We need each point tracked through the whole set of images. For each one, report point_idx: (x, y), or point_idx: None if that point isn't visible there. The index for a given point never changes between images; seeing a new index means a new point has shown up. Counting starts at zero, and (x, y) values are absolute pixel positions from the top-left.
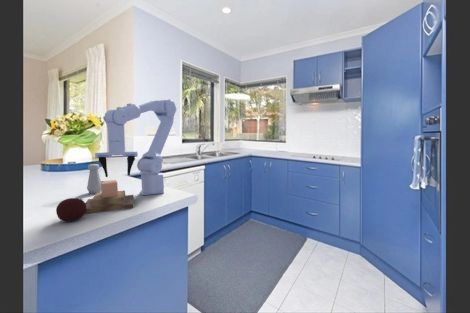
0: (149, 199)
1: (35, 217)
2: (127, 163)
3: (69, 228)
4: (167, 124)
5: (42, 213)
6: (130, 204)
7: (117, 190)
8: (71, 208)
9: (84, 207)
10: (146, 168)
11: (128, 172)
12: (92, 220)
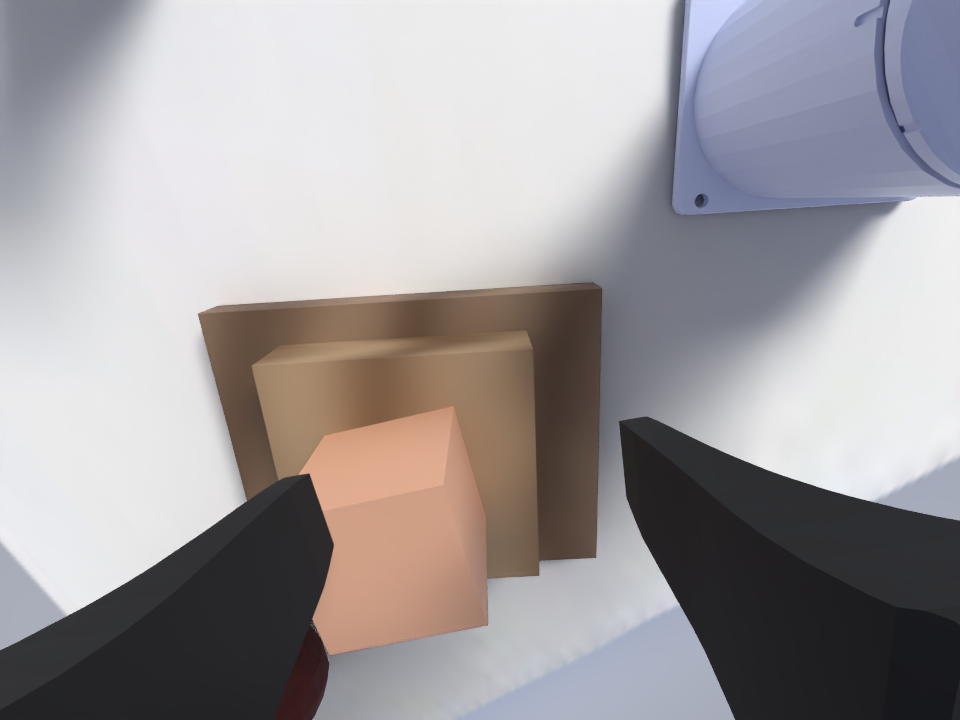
0: (726, 366)
1: (22, 527)
2: (735, 516)
3: None
4: None
5: (9, 466)
6: (578, 558)
7: (484, 553)
8: None
9: (316, 707)
10: None
11: (654, 545)
12: (383, 653)
